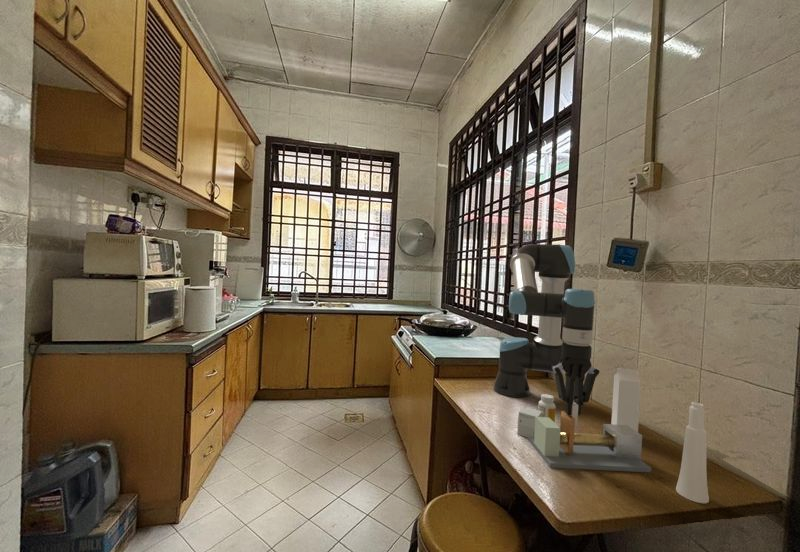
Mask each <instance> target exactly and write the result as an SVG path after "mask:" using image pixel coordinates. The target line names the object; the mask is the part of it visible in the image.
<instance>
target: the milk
mask: <svg viewBox="0 0 800 552" xmlns="http://www.w3.org/2000/svg"><path fill="white" fill-rule="evenodd" d="M641 384H642V382H641V379H640V377H639V370H638V369H634V368H626V367H624V368H623V367H617V369H616V372H615V374H613V390H612V403H611V404H612V405H611V407H612V409H611V422H610V424H615V425H627V426H629V427H630V428H632V429H633V430H635V431H636V432H638V433H639V423H640V421H639V420H640V404H641V403H640V401H641V388H642V385H641Z"/></svg>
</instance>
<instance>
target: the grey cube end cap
mask: <svg viewBox="0 0 800 552" xmlns="http://www.w3.org/2000/svg"><path fill="white" fill-rule="evenodd" d="M602 434H606V435H612V436H614V447H603V448H604V449H605V450H606V451H607V452H608V453H610V454H611V455H612V456H613V457H614V458H616V459H632V460H642V446H643V435H642V434H641V433H639V431H638V432H636V431H635V430H633V429H632V428H630V427H629V426H627V425H615V424H611V423H602Z"/></svg>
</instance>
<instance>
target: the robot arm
mask: <svg viewBox="0 0 800 552" xmlns="http://www.w3.org/2000/svg"><path fill="white" fill-rule="evenodd" d="M509 268H510V271H511V272H512V276H513V287H514V288H513V289H514V290H512V291H510V292H509V298H508V311H509V313H511V314H515V315H520V316H532V317H533V316H536V317H538V318H539V319H538V332H537V335H536V336H535V337H534V338H533V342H530V341H529V339H528V338H525V337H506V338H504V339H502V340H501V341H500V345H499V349H498V350H499V359H498V371H497V372H498V373H497V375H496V377H495V380H494V383H493V390H494V391H495V393H497V394H500V395H502V396H506V397H513V398H526V397H528V396H530V395H531V394H530V393H531V391H530V390H531V389H530V388H531V387H530V385H529V381H528V378H527V377H528V376H527V371H528V370H529V371H538V372H546V373H554V378H555V384H556V388H557V393H558V394H557V395H558V398H559V399H560V400H561V401H562V402H564V403H565V405H564V407H565V408H564V411H565V413H567V414H568V415H571V416H572V417H573V418H575V426H574V429H578V420H579V417H578V416H580V415H581V413H582V406H584V405H585V403H589V400H590V399H591V398H590V397H591V395H592V392H593V388H594V385H595V381H596V379H597V377H598V375H599V374H600V370H599V369H597V368H596V367H594V366H593V365H592V362H591V358H592V352H593V351H592V350H593V348H592V346H591V344H592V343H593V330H594V329H593V328H594V314H595V304H596V301H595V292H594V290H592V289H583V288H579V289H576V288H567V289H566V290H565V284H566V282H567V280H569V279H570V275H573V274H574V273H575V269H576V260H575V253H574V250H573V248H572V247H571V246H570V245H568V244H548V243H547V244H544V243H543V244H542V243H541V244H537V243H531V244H530V243H529V244H526V245H523V246H521V247H520V248H518V249H516V250H515V252H513V254H511V257H510V259H509ZM536 273H538V277H539V278H540V280H541V292H539V290H538V289H539V288H538V284H537V278H536V275H535V274H536ZM562 319H563V322H562ZM562 323H563V324H562ZM561 329H562V331H561ZM561 332H562V336H561ZM561 338H562V339H561ZM563 371H564V373H565V374H564V375H563ZM564 376H565V381H564Z"/></svg>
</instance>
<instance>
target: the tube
mask: <svg viewBox="0 0 800 552" xmlns="http://www.w3.org/2000/svg"><path fill="white" fill-rule="evenodd" d="M574 426H575V418H573V417H572V416H571V415H568V414H567V413H565V410H561V412H560V426H559V427H560V428H561V430H560V446H561V447H562V448H563V449H564V450H565V451H566V452H567V453H568V454H572V455H573V445H579V446H600V447H614V436H612V435H606V434H603V433H602V434H601V433H599V434H598V433H584V432H583V433H581V432H575V428H574Z"/></svg>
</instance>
